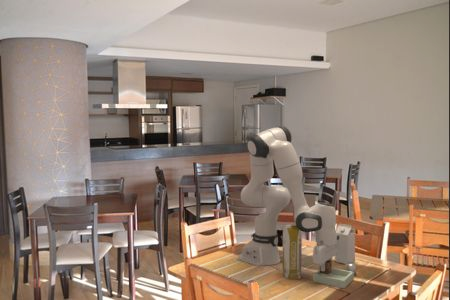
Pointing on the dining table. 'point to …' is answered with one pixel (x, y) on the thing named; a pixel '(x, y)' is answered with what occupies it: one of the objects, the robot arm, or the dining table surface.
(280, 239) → the coffee mug
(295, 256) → the juice carton
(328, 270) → the walnut block
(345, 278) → the tray
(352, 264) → the aluminium bushing
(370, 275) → the dining table surface
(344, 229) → the milk carton
